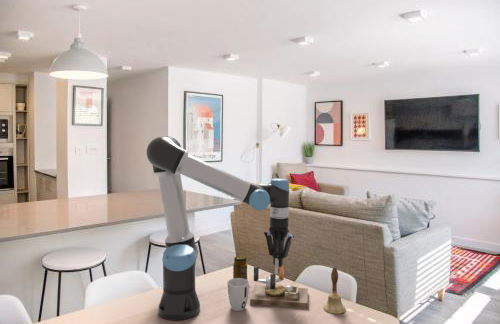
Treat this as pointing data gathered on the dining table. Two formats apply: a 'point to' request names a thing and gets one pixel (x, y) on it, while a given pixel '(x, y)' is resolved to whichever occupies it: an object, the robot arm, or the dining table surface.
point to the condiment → (240, 267)
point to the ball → (288, 289)
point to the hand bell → (334, 297)
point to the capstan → (271, 282)
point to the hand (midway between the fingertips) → (277, 273)
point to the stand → (280, 297)
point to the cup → (238, 293)
